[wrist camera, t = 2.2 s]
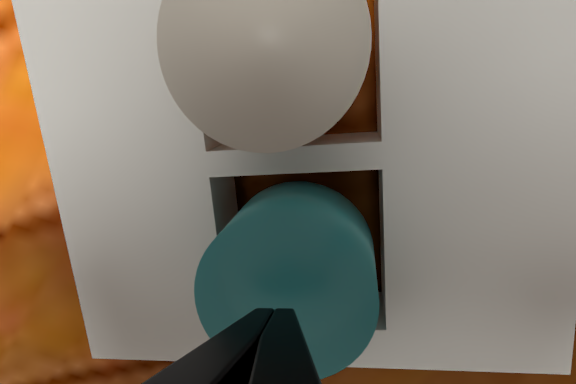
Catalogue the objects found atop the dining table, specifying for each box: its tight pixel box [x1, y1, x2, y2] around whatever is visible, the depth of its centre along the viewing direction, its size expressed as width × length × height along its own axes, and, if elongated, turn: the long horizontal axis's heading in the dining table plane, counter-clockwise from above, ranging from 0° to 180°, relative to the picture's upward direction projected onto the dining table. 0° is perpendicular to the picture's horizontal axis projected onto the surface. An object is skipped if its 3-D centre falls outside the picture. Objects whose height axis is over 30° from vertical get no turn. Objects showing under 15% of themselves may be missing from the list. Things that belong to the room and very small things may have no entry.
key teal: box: [194, 181, 379, 379], centre depth 12 cm, size 5×5×3 cm
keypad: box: [12, 0, 576, 375], centre depth 13 cm, size 16×20×2 cm
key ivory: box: [157, 0, 372, 153], centre depth 10 cm, size 5×5×3 cm
